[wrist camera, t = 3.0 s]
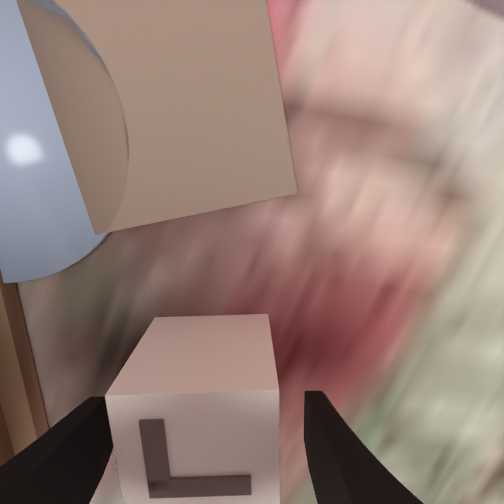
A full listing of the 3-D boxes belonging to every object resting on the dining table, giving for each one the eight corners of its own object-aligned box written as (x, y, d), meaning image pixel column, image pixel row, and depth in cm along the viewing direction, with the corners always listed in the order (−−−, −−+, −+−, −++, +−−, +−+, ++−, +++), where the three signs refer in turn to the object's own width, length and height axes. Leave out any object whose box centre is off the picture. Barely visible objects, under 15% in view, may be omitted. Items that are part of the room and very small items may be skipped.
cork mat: (102, 232, 13) (95, 235, 12) (28, 8, 11) (15, -2, 10) (295, 192, 12) (297, 193, 12) (255, -46, 10) (256, -59, 10)
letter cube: (166, 411, 15) (126, 529, 10) (155, 316, 14) (103, 398, 9) (269, 407, 15) (280, 523, 10) (267, 313, 14) (279, 392, 9)
